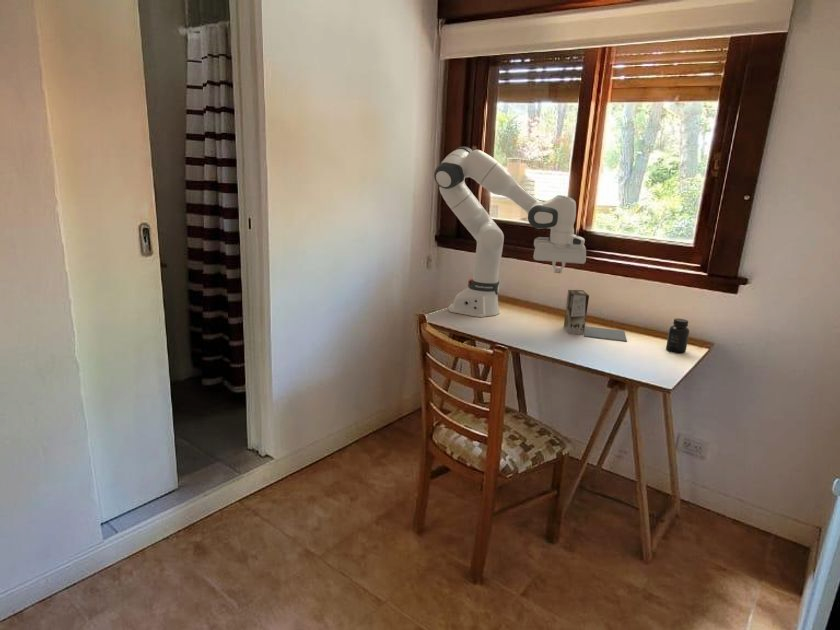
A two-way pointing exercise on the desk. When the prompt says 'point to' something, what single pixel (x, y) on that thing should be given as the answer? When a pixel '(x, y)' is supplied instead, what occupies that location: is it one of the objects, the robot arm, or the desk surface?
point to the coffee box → (576, 311)
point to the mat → (605, 333)
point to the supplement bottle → (678, 336)
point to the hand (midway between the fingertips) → (557, 272)
